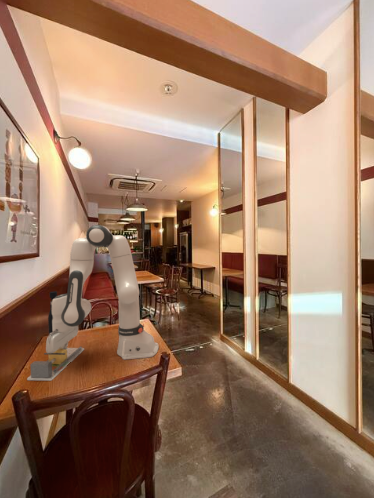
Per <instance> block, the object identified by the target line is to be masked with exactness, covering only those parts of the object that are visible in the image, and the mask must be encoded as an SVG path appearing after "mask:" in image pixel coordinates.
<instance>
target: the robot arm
mask: <svg viewBox="0 0 374 498" xmlns="http://www.w3.org/2000/svg"><path fill="white" fill-rule="evenodd" d="M85 236H86V237H78V238H75V239H74V240H73V241H72V243H71V248H70V253H69V254H70V255H69V275H68V283H67V292H66V293H62V294H59V295H57V296H56V297H55V298H54V299H53V301H52V316H53V320H52V329H53V332H51V333H50V334H49V333H48V336H47V338H46V342H45V353H54V352H55V351H57V350H58V349H67V348H68V346H69V342H70V341H71V340H72V339H74V338H75V337H77V335H78V334H79V325H81V324H82V323H83V322H84V320H85V319H86V317H87V316H88V315H89V313H91V311H92V304H91V301H89V300H88V299H86V298H83V291H84V290H83V288H84V285H85V282H86V281H87V279H88V277H89V276H90V275H91V274H92V272H93V269H94V263H95V261H94V260H95V257H94V256H95V250H96V249H98V248H107V250H108V253H109V258H110V262H111V267H112V271H113V272H112V273H113V276H114V277H113V278H114V282H115V288H116V293H117V294H116V295H117V297H118V327H117V329H118V331H117V334H118V345H117V351H116V355H118V356H119V357H121V359H122V360H134V359H135V360H136V359H144V358H152V357H154V356H155V355H157V352H158V351H159V343H158V342H155V339H154V336H153V335H152V334H150V333H149V332H147V331H146V330H144V327H145V324H144V323H143V324H142V323H141V315H140V297H139V296H140V288H139V283H138V278H137V274H136V267H135V265H134V264H135V263H134V259H133V255H132V251H131V247H130V244H129V241H128V239H127V238H126V236H124V235H120V234H119V235H118V234H117V235H115V234H114V235H113V234H112V232H111V230H110V229H109V228H108V227H107V226H104V225H101V224H94V225H92V226H90V227H89V228H88V229H87V231H86V233H85Z"/></svg>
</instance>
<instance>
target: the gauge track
mask: <svg viewBox="0 0 374 498" xmlns="http://www.w3.org/2000/svg"><path fill="white" fill-rule="evenodd" d="M84 350H85V348H84V347H82V346H79V347H67V359H65V360H64V361H63V362H62V363H61V364H52V361H49V359H48V360H46V361H45V360H44V361H42V360H41V361H39V360H37V361H36V360H35V361H33V362H31V363H30V365H29V366H30V375H29V376H28V377H27V378H26V380H27V381H43V382H44V381H46V382H47V381H48V382H49V381H53V380H54V379H55V378H57V376H58V375H59V374H60V373H61V372H62V371H63V370H64V369H65V368H67V367H68V366H69V365H70V364H71V363H72V362H73V361H74V360H75V359H76V358H77V357H78V356H79V355H80V354H81V353H83V351H84ZM70 362H71V363H70ZM69 363H70V364H69ZM68 364H69V365H68ZM67 365H68V366H67Z"/></svg>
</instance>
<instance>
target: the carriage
mask: <svg viewBox="0 0 374 498" xmlns="http://www.w3.org/2000/svg"><path fill="white" fill-rule="evenodd" d="M43 355H46V356H47V355H48V360H49V361H52V364H61V363H62V362H63V361H64V360H65V359H67V349H58V350H57V351H55V352H54V353H47V352H44V353H43Z"/></svg>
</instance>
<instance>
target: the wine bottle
mask: <svg viewBox="0 0 374 498" xmlns="http://www.w3.org/2000/svg"><path fill="white" fill-rule="evenodd" d="M56 296H58V291H57V290H54V291H50V292H49V298H50V304H49V305H50V306H49V308H50V310H49V313H48V315H47V316H48V317H47V323H48V325H47V326H48V335H49V334H50V333H51V332H53V329H52V320H53V316H52V301H53V299H54V298H55V297H56Z"/></svg>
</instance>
